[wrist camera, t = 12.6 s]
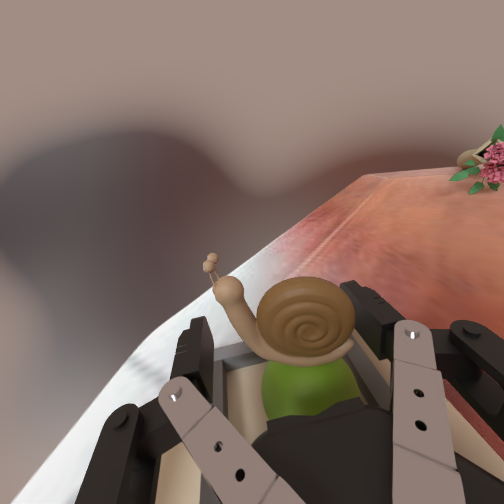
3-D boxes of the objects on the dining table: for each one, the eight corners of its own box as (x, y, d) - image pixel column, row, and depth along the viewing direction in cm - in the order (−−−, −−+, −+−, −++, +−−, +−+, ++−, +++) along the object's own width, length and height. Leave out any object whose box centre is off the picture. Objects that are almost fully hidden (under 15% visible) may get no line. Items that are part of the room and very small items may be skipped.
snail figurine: (257, 379, 17) (217, 234, 12) (345, 376, 16) (341, 215, 11) (250, 472, 13) (179, 296, 7) (374, 476, 11) (391, 274, 6)
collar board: (366, 322, 22) (367, 299, 21) (573, 561, 9) (605, 538, 8) (181, 368, 21) (171, 348, 20) (123, 700, 8) (87, 696, 7)
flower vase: (478, 197, 62) (547, 210, 34) (427, 186, 67) (448, 190, 39) (506, 150, 57) (612, 119, 29) (448, 143, 63) (489, 110, 34)
